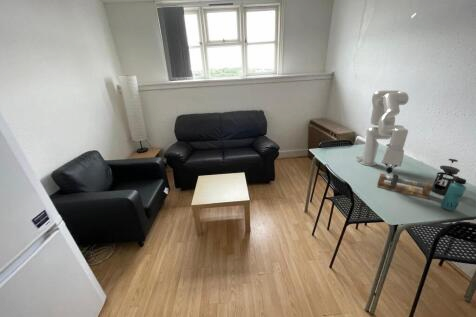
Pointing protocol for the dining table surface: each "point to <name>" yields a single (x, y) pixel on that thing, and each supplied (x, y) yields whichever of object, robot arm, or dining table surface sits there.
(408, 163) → the dining table surface
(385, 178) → the pipe stand
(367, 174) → the dining table surface
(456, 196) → the beverage bottle
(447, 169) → the french press
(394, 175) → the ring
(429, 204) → the dining table surface
